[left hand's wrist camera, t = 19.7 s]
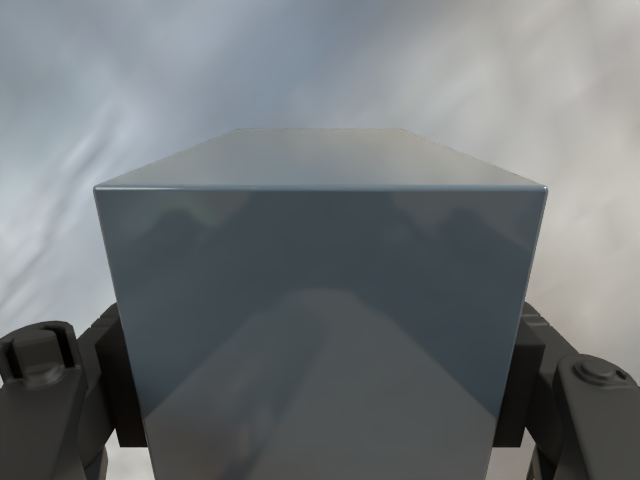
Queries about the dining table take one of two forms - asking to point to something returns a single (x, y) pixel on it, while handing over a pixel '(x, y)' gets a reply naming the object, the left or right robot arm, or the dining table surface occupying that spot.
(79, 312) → the dining table surface
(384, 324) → the block
